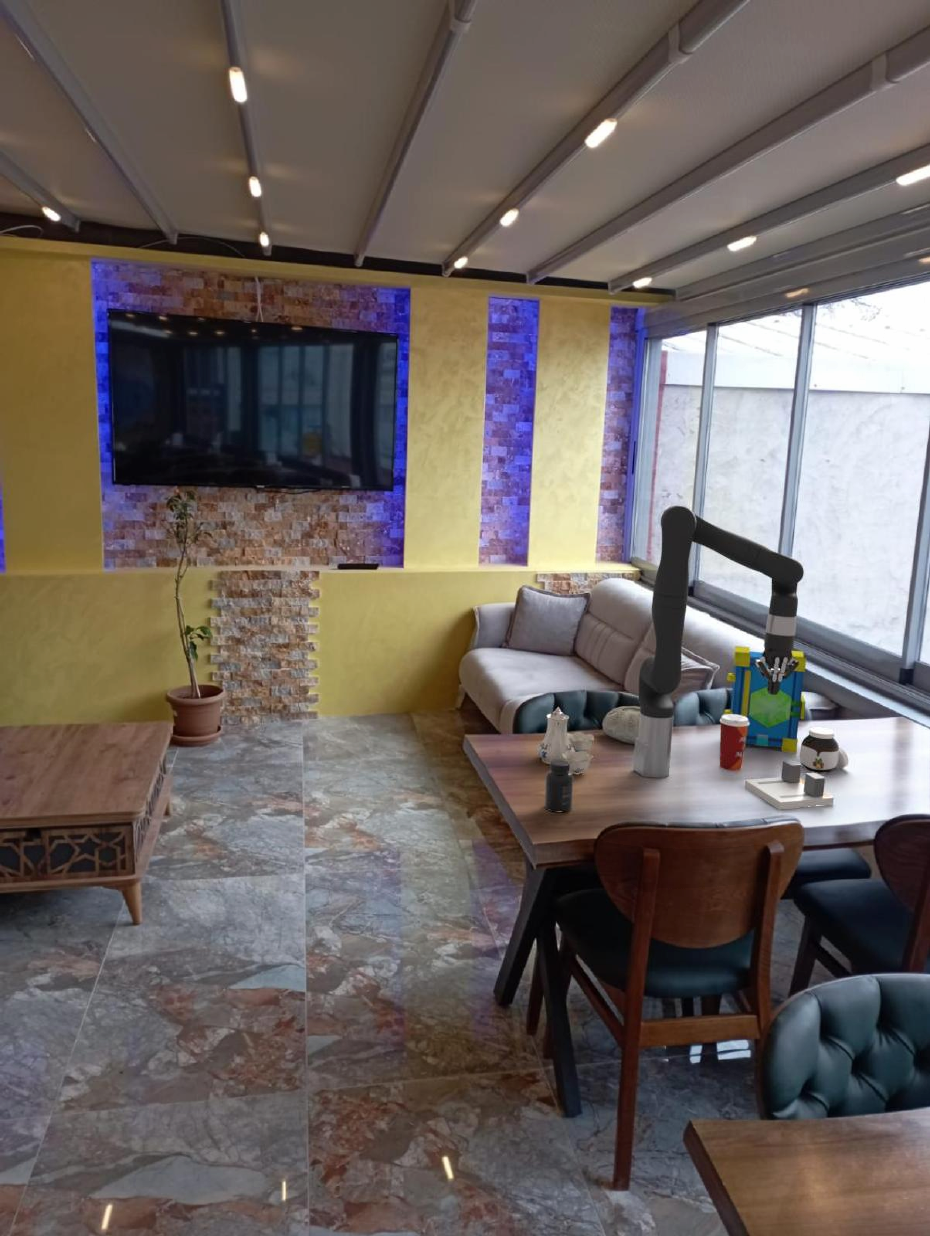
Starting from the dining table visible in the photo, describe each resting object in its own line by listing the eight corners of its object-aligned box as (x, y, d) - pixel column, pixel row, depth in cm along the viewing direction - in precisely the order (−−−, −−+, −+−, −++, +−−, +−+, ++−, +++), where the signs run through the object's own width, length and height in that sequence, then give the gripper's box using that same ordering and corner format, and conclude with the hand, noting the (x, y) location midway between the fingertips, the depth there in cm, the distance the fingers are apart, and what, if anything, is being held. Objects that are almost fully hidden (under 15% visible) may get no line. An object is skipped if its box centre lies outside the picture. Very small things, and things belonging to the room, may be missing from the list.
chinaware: (595, 786, 244) (605, 729, 241) (535, 776, 245) (544, 719, 241) (589, 753, 271) (598, 701, 268) (535, 744, 272) (543, 692, 269)
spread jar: (795, 767, 259) (799, 729, 257) (809, 759, 267) (813, 721, 265) (837, 778, 251) (841, 739, 249) (850, 769, 259) (855, 730, 257)
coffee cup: (746, 773, 253) (751, 722, 250) (716, 770, 254) (721, 720, 252) (743, 763, 261) (748, 714, 258) (714, 760, 262) (719, 712, 260)
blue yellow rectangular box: (800, 755, 270) (810, 659, 264) (722, 747, 275) (730, 653, 270) (796, 741, 283) (805, 650, 278) (721, 733, 289) (729, 644, 284)
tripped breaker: (789, 783, 240) (791, 765, 239) (781, 778, 244) (782, 760, 243) (799, 782, 241) (801, 764, 240) (790, 777, 244) (792, 760, 243)
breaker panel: (779, 809, 227) (780, 802, 227) (744, 786, 242) (745, 779, 242) (832, 805, 231) (833, 797, 231) (795, 783, 246) (795, 776, 246)
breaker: (813, 797, 230) (815, 778, 229) (803, 791, 234) (805, 773, 233) (823, 796, 231) (825, 778, 230) (813, 790, 235) (815, 772, 234)
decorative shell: (621, 751, 269) (623, 719, 267) (590, 733, 285) (592, 703, 283) (670, 745, 276) (672, 714, 274) (637, 728, 292) (639, 699, 290)
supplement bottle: (569, 803, 227) (572, 758, 225) (573, 813, 220) (576, 767, 218) (542, 802, 226) (545, 757, 224) (546, 813, 220) (548, 767, 218)
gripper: (766, 634, 233) (759, 698, 236) (810, 634, 236) (802, 697, 239) (750, 628, 240) (743, 690, 243) (793, 629, 243) (785, 690, 246)
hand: (772, 694), depth 241 cm, fingers closed
